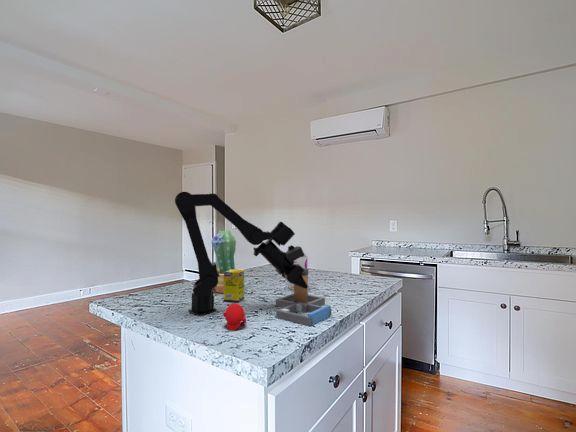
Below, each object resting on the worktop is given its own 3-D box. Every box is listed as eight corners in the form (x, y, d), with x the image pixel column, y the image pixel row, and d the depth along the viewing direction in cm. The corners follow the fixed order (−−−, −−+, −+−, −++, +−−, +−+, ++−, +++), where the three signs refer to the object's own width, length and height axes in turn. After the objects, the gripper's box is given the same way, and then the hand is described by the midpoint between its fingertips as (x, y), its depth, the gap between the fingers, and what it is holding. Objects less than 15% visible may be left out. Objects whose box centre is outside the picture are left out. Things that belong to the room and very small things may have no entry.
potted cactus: (204, 287, 135) (204, 230, 135) (238, 284, 142) (239, 229, 142) (211, 296, 121) (211, 231, 121) (249, 292, 128) (249, 231, 128)
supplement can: (307, 286, 139) (307, 252, 139) (306, 291, 131) (307, 255, 131) (289, 286, 140) (289, 252, 140) (287, 290, 132) (287, 254, 132)
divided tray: (310, 326, 89) (310, 315, 89) (256, 312, 101) (256, 302, 101) (345, 307, 107) (345, 298, 107) (296, 298, 119) (296, 289, 119)
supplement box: (238, 302, 113) (239, 272, 113) (223, 301, 114) (223, 271, 114) (244, 298, 119) (244, 269, 119) (229, 297, 120) (229, 269, 120)
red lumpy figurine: (224, 310, 93) (218, 304, 88) (243, 303, 94) (238, 297, 89) (230, 336, 89) (224, 332, 84) (250, 329, 90) (245, 324, 85)
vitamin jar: (302, 307, 107) (303, 270, 107) (290, 305, 110) (290, 269, 110) (310, 304, 111) (311, 268, 111) (298, 302, 114) (299, 267, 114)
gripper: (297, 240, 101) (329, 274, 103) (283, 237, 119) (311, 265, 121) (273, 266, 99) (306, 299, 101) (263, 258, 117) (291, 286, 119)
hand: (304, 285), depth 111 cm, fingers closed on vitamin jar, 5 cm apart
